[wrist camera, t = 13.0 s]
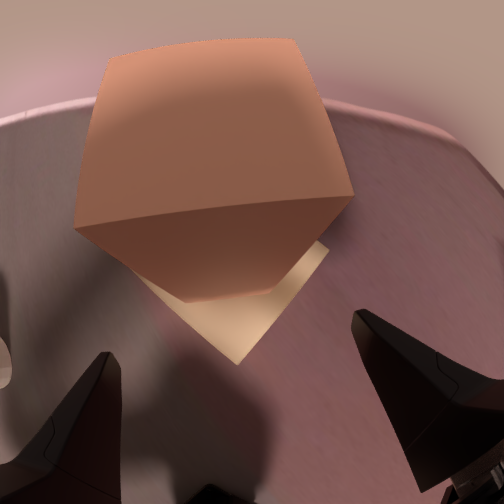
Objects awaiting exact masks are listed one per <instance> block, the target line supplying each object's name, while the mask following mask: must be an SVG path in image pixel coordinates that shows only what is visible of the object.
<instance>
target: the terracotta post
mask: <svg viewBox="0 0 504 504" xmlns="http://www.w3.org/2000/svg"><path fill="white" fill-rule="evenodd" d="M354 196H355V195H354V191H353V188H352V185H351V182H350V178H349V175H348V172H347V169H346V166H345V163H344V160H343V157H342V154H341V151H340V148H339V145H338V142H337V140H336V137H335V134H334V131H333V129H332V126H331V123H330V121H329V118H328V115H327V113H326V110H325V108H324V105H323V103H322V100H321V98H320V96H319V93H318V91H317V89H316V86H315V84H314V82H313V79H312V77H311V75H310V73H309V70H308V68H307V66H306V64H305V62H304V60H303V57H302V56H301V53H300V51H299V49H298V47H297V45H296V43H295V41H294V39H284V38H238V39H223V40H222V39H221V40H208V41H199V42H191V43H182V44H176V45H169V46H163V47H158V48H152V49H147V50H143V51H138V52H134V53H129V54H125V55H121V56H118V57H114V58H110V60H109V62H108V65H107V68H106V70H105V74H104V76H103V79H102V83H101V86H100V89H99V92H98V96H97V99H96V103H95V106H94V110H93V114H92V118H91V121H90V126H89V130H88V134H87V139H86V143H85V148H84V153H83V159H82V164H81V170H80V176H79V183H78V190H77V198H76V206H75V216H74V229H75V230H76V231H78V232H79V233H80V234H82V235H83V236H85V237H86V238H87V239H89V240H90V241H91V242H93V243H94V244H96V245H97V246H98V247H100V248H101V249H103V250H104V251H106V252H107V253H108V254H110V255H111V256H113V257H114V258H116V259H117V260H119V261H120V262H121V263H123V264H124V265H126V266H127V267H129V268H130V269H132V270H133V271H135V272H136V273H138V274H140V275H141V276H143V277H144V278H146V279H147V280H149V281H150V282H152V283H153V284H155V285H157V286H158V287H160V288H161V289H163V290H165V291H166V292H168V293H169V294H171V295H173V296H174V297H176V298H177V299H179V300H181V301H182V302H184V303H194V302H204V301H212V300H221V299H229V298H237V297H245V296H253V295H261V294H268V293H270V292H271V291H272V290H273V289H274V288H275V287H276V286H277V284H278V283H279V282H280V281H281V280H282V279H283V278H284V277H285V276H286V274H287V273H288V272H289V271H290V270H291V269H292V268H293V267H294V265H295V264H296V263H297V262H298V261H299V260H300V259H301V258H302V256H303V255H304V254H305V253H306V252H307V251H308V250H309V248H310V247H311V246H312V245H313V244H314V243H315V242H316V240H317V239H318V238H319V237H320V236H321V235H322V234H323V232H324V231H325V230H326V229H327V228H328V227H329V225H330V224H331V223H332V222H333V221H334V220H335V218H336V217H337V216H338V215H339V214H340V212H341V211H342V210H343V209H344V208H345V207H346V205H347V204H348V203H349V202H350V201H351V199H352V198H353V197H354Z"/></svg>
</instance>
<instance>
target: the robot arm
mask: <svg viewBox="0 0 504 504" xmlns="http://www.w3.org/2000/svg"><path fill="white" fill-rule="evenodd" d="M351 331H352V334H353V337H354V340H355V342H356V345H357V348H358V351H359V353H360V356H361V359H362V362H363V364H364V367H365V369H366V371H367V373H368V375H369V377H370V379H371V381H372V383H373V385H374V387H375V390H376V392H377V394H378V396H379V398H380V400H381V402H382V404H383V406H384V409H385V411H386V413H387V415H388V417H389V419H390V422H391V424H392V426H393V428H394V430H395V433H396V435H397V437H398V439H399V442H400V444H401V446H402V449H403V451H404V454H405V456H406V458H407V461H408V463H409V465H410V468H411V470H412V473H413V475H414V477H415V480H416V482H417V485H418V487H419V490H420V492H421V493H423V492H425V491H427V490H429V489H430V488H432V487H434V486H436V485H438V484H439V483H441V482H443V481H445V480H446V479H448V478H450V479H451V481H452V483H453V484H452V485H450V486H449V487H447V488H446V491H445V494H444V496H443V499H442V501H441V504H504V379H503V380H497V379H492V378H488V377H486V376H484V375H482V374H480V373H477V372H475V371H473V370H471V369H469V368H467V367H465V366H463V365H461V364H459V363H457V362H455V361H453V360H451V359H449V358H447V357H446V356H444V355H442V354H441V353H439V352H437V351H435V350H434V349H432V348H430V347H429V346H427V345H425V344H424V343H422V342H420V341H419V340H417V339H415V338H414V337H412V336H410V335H409V334H407V333H405V332H404V331H402V330H400V329H399V328H397V327H395V326H393V325H392V324H390V323H388V322H387V321H385V320H383V319H382V318H380V317H378V316H377V315H375V314H373V313H371V312H370V311H368V310H366V309H360V310H356V311H355V312H354V314H353V319H352V324H351ZM121 415H122V391H121V368H120V365H119V363H118V362H117V360H116V359H115V357H114V355H113V354H112V353H111V352H101V353H100V354H99V355H98V356H97V357H96V359H95V360H94V361H93V362H92V363H91V365H90V366H89V367H88V368H87V370H86V371H85V372H84V373H83V375H82V376H81V377H80V378H79V380H78V381H77V382H76V383H75V385H74V386H73V387H72V389H71V390H70V391H69V392H68V394H67V395H66V396H65V398H64V399H63V400H62V401H61V403H60V404H59V405H58V407H57V408H56V409H55V411H54V412H53V413H52V416H50V417H49V419H48V420H47V421H46V423H45V424H44V425H43V426H42V428H41V429H40V430H39V432H38V433H37V434H36V435H35V436H34V437H33V439H32V440H31V441H30V442H29V443H28V444H27V445H26V446H25V448H24V449H23V450H22V451H21V452H20V453H19V454H18V456H17V457H16V458H14V459H13V460H12V461H10V462H8V463H5V464H0V504H121V486H120V437H121ZM208 489H212V491H209V490H208ZM184 504H250V503H248V502H246V501H244V500H242V499H240V498H238V497H236V496H235V495H230V494H228V493H226V492H225V491H223V490H221V489H219V488H218V487H216V486H214V485H212V484H207V485H205V486H204V487H203V488H202V489H201V490H199V491H198V492H197V493H196V494H195V495H194V496H192V497H191V498H190V499H189V500H188V501H186V502H185V503H184Z"/></svg>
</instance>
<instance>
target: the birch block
mask: <svg viewBox="0 0 504 504" xmlns="http://www.w3.org/2000/svg"><path fill="white" fill-rule="evenodd" d="M328 252H329V249H327V248H326V247H325V246H324V245H322V244H321V243H320V242H319V241H317V240H316V242H315V243H314V244H313V245H312V246H311V247H310V248H309V250H308V251H307V252H306V253H305V254H304V255H303V256H302V258H301V259H300V260H299V261H298V262H297V263H296V264H295V265H294V267H293V268H292V269H291V270H290V271H289V272H288V273H287V274H286V276H285V277H284V278H283V279H282V280H281V281H280V282H279V283H278V284H277V286H276V287H275V288H274V289H273V290H272V291H271V292H270V293H268V294H261V295H253V296H245V297H237V298H229V299H221V300H212V301H204V302H194V303H184V302H182V301H181V300H179V299H177V298H176V297H174V296H173V295H171V294H169V293H168V292H166V291H165V290H163V289H161V288H160V287H158V286H157V285H155V284H153V283H152V282H150V281H149V280H147V279H146V278H144V277H143V276H141V275H140V274H138V273H136V272H135V271H133V270H132V269H131V270H132V271H133V272H134V273H135V274H136V275H137V276H138V277H139V278H140V279H141V280H142V281H143V282H144V283H145V284H146V285H147V286H148V287H149V288H150V289H151V290H152V291H153V292H154V293H155V294H156V295H157V296H158V297H159V298H160V299H161V300H163V301H164V302H165V303H166V304H167V305H168V306H169V307H170V308H171V309H172V310H173V311H174V312H175V313H177V314H178V315H179V316H180V317H181V318H182V319H183V320H184V321H185V322H187V323H188V324H189V325H190V326H191V327H192V328H193V329H194V330H196V331H197V332H198V333H199V334H200V335H201V336H203V337H204V338H205V339H206V340H207V341H208V342H210V343H211V344H212V345H213V346H214V347H216V348H217V349H218V350H219V351H220V352H222V353H223V354H224V355H225V356H226V357H228V358H229V359H230V360H231V361H233V362H234V363H235V364H236V365H238V364H239V363H240V362H241V361H242V360H243V358H244V357H245V356H246V355H247V354H248V353H249V351H250V350H251V349H252V348H253V347H254V345H255V344H256V343H257V342H258V341H259V339H260V338H261V337H262V336H263V335H264V333H265V332H266V331H267V330H268V329H269V327H270V326H271V325H272V324H273V323H274V321H275V320H276V319H277V318H278V316H279V315H280V314H281V313H282V311H283V310H284V309H285V308H286V306H287V305H288V304H289V303H290V301H291V300H292V299H293V298H294V296H295V295H296V294H297V292H298V291H299V290H300V289H301V287H302V286H303V285H304V283H305V282H306V281H307V280H308V278H309V277H310V276H311V274H312V273H313V272H314V270H315V269H316V268H317V266H318V265H319V264H320V262H321V261H322V260H323V258H324V257H325V256H326V254H327V253H328Z"/></svg>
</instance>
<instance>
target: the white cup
mask: <svg viewBox="0 0 504 504" xmlns="http://www.w3.org/2000/svg"><path fill="white" fill-rule="evenodd" d="M11 376H12V363H11V357H10V353H9V351H8V348H7V345H6V344H5V342H4V341H3V339H2V338H1V337H0V389H1V388H4V387H5V386H7V385H8V384H9V382H10V379H11Z"/></svg>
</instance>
